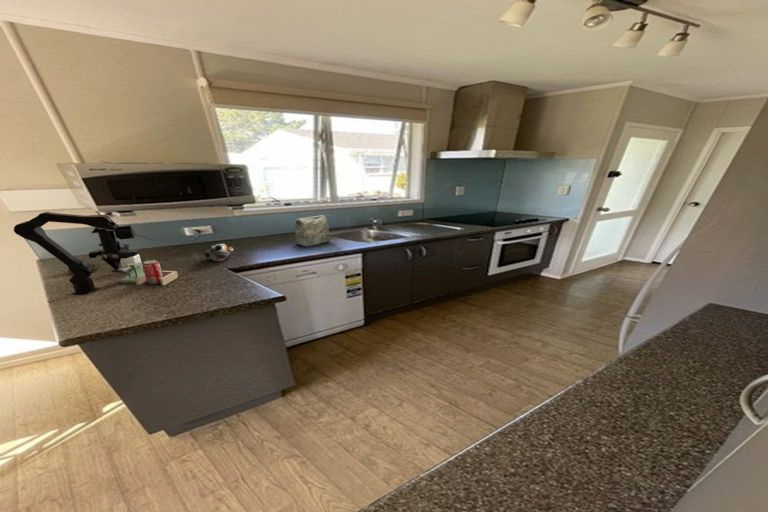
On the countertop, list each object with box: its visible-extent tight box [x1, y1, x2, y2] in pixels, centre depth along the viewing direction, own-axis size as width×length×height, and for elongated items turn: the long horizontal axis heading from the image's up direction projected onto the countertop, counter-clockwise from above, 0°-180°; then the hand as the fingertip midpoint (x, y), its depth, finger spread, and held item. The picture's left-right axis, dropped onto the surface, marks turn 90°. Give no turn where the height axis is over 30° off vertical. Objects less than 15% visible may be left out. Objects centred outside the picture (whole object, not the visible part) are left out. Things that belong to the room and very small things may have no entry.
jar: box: [120, 248, 143, 274], centre depth 168 cm, size 9×8×12 cm
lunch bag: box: [294, 214, 330, 248], centre depth 230 cm, size 26×18×22 cm
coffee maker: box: [117, 262, 145, 284], centre depth 157 cm, size 12×10×9 cm
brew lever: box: [111, 264, 135, 274], centre depth 152 cm, size 12×5×2 cm, turn 0°
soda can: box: [142, 259, 163, 285], centre depth 152 cm, size 7×7×12 cm
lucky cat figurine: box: [204, 243, 235, 263], centre depth 189 cm, size 15×12×14 cm
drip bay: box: [135, 270, 179, 287], centre depth 155 cm, size 11×14×4 cm
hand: (116, 269), depth 147 cm, fingers closed, pressing on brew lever
